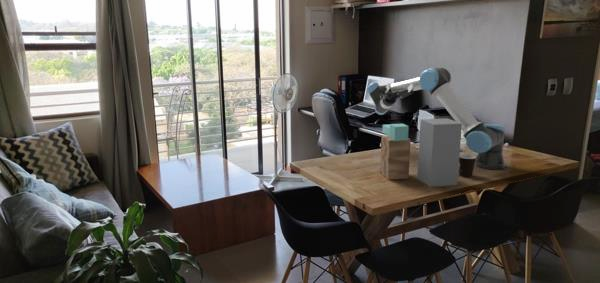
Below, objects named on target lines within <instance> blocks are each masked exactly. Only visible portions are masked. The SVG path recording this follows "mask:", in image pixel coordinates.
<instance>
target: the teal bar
mask: <svg viewBox="0 0 600 283" xmlns="http://www.w3.org/2000/svg"><path fill="white" fill-rule="evenodd" d="M381 129H382V133H383V134H384V135H385V136H389V138H390V139H392V140H394V141H403V140H408V138H409V125H406V124H404V123H390V124H382V128H381Z"/></svg>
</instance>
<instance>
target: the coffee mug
mask: <svg viewBox="0 0 600 283" xmlns="http://www.w3.org/2000/svg"><path fill="white" fill-rule="evenodd" d="M476 157H477V156H475V155H472V154H460V155H459V168H458V177H459V176H460V177H463V178H472V177H473V174H474V169H475V166H476V165H475V160H476Z"/></svg>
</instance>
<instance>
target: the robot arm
mask: <svg viewBox="0 0 600 283" xmlns="http://www.w3.org/2000/svg"><path fill="white" fill-rule="evenodd" d="M451 80H452V76H451V73H450V70H448V69H447V68H444V67H435V68H427V69H425V70H423V71H422V72H421V73H420V76H417V77H413V78H410V79H406V80H402V81H397V82H393V83H388V84H385V85H380V84H379V83H378V82H372V83H370V84H369V85H368V86H367V87H366V90H367V92H368V95H369V96H370V98H371V100H372V102H373V104H374V105H375V106H374V111H375V113H376V114H377V115H380V116H382V115H384V114H386V113H387V112H388V111H389V110H390V109H391V107H393V105H395V103H396V102H397V100H398V99H400V100H403V99H404V98H406V97H409V96H411V95H412V94H414V91H420V90H423V91H427V92H428V93H429V94H430V96H432V97H433V98H437V100H438V101H439V103H441V105H442V107H444V108H445V109H446V111H447V113H448V114H449V115H450V116H451V117H452V118H453V121H456V122H459V123H462V129H461V131H463V135H462V136H463V137H464V139H465V145H466V146H467V148H468V149H469V150H470V151H471V152H473V153H476V154H477V156H475V157H476V160H475V165H474V166H475V167H476V166H477V167H479V168H482V169H487V170H503V169H505V166H506V162H505V159H504V154H503V151H504V150H503V149H504V142H505V141H504V140H505V133H506V132H505V126H504V125H501V124H493V123H492V124H491V123H484V122H481V121H477V119H476V118H475V117H474V115H473V114H472V113H471V111H470V110H469V109H468V108H467V107H466V105H465V104H464V103H463V102H462V100H461V99H460V98H459V97H458V95H457V94H456V93H455V92H454V91H453V90H452V88H451Z"/></svg>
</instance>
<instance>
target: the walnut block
mask: <svg viewBox="0 0 600 283" xmlns="http://www.w3.org/2000/svg"><path fill="white" fill-rule="evenodd" d="M380 140H381V143H380V144H381V147H380V166H379V167H380V168H379V169H380V171H379V172H380V173H379V174H380V175H381V176H383V177H384V178H386V179H387V180H398V179H399V180H400V179H401V180H402V179H409V178H410V177H409V176H410V158H411V157H410V156H411V138H409V137H408V140H403V141H394V140H392V139H390V138H389V136H388V135H381V139H380Z"/></svg>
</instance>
